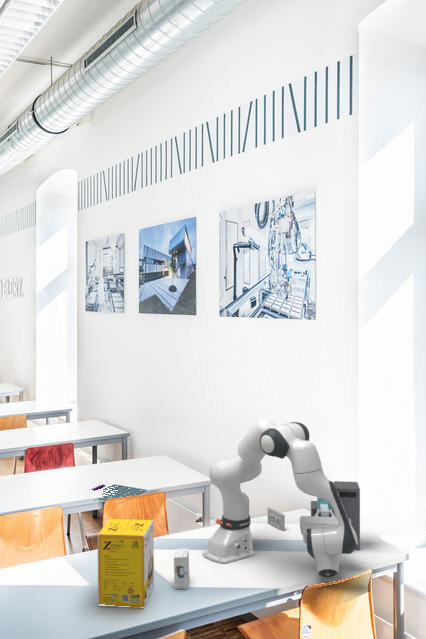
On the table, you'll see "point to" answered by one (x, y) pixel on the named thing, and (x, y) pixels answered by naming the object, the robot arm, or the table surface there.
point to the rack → (347, 504)
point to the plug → (323, 507)
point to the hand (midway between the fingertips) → (324, 510)
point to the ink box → (181, 569)
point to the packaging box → (125, 562)
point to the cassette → (279, 520)
